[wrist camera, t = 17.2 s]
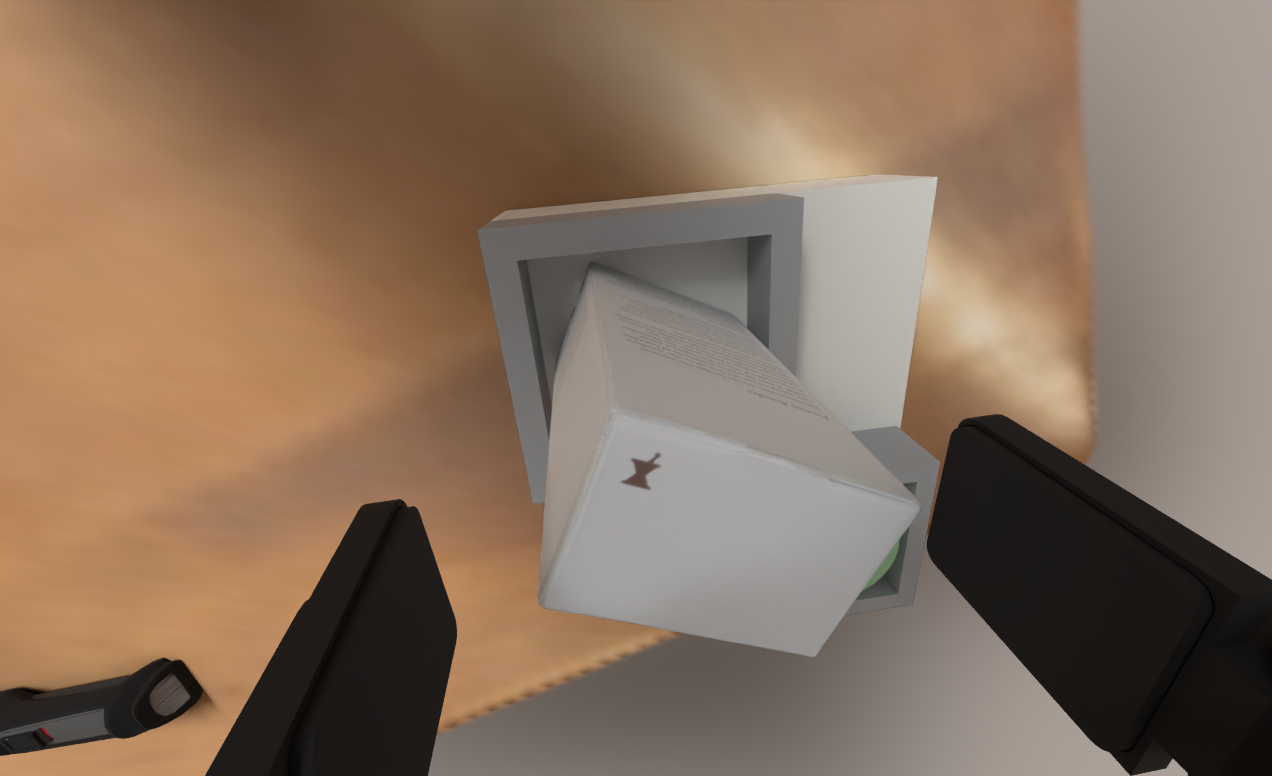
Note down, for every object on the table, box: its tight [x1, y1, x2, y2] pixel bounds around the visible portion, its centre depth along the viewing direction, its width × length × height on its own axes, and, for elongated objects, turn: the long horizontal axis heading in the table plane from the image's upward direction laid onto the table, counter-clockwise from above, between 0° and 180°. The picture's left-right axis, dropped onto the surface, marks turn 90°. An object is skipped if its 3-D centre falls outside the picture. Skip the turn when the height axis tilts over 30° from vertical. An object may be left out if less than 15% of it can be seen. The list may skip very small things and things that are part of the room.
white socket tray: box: [477, 174, 940, 615], centre depth 22 cm, size 18×16×7 cm
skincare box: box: [538, 262, 922, 657], centre depth 14 cm, size 6×4×12 cm
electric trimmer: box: [0, 658, 202, 756], centre depth 28 cm, size 4×16×3 cm, turn 97°
